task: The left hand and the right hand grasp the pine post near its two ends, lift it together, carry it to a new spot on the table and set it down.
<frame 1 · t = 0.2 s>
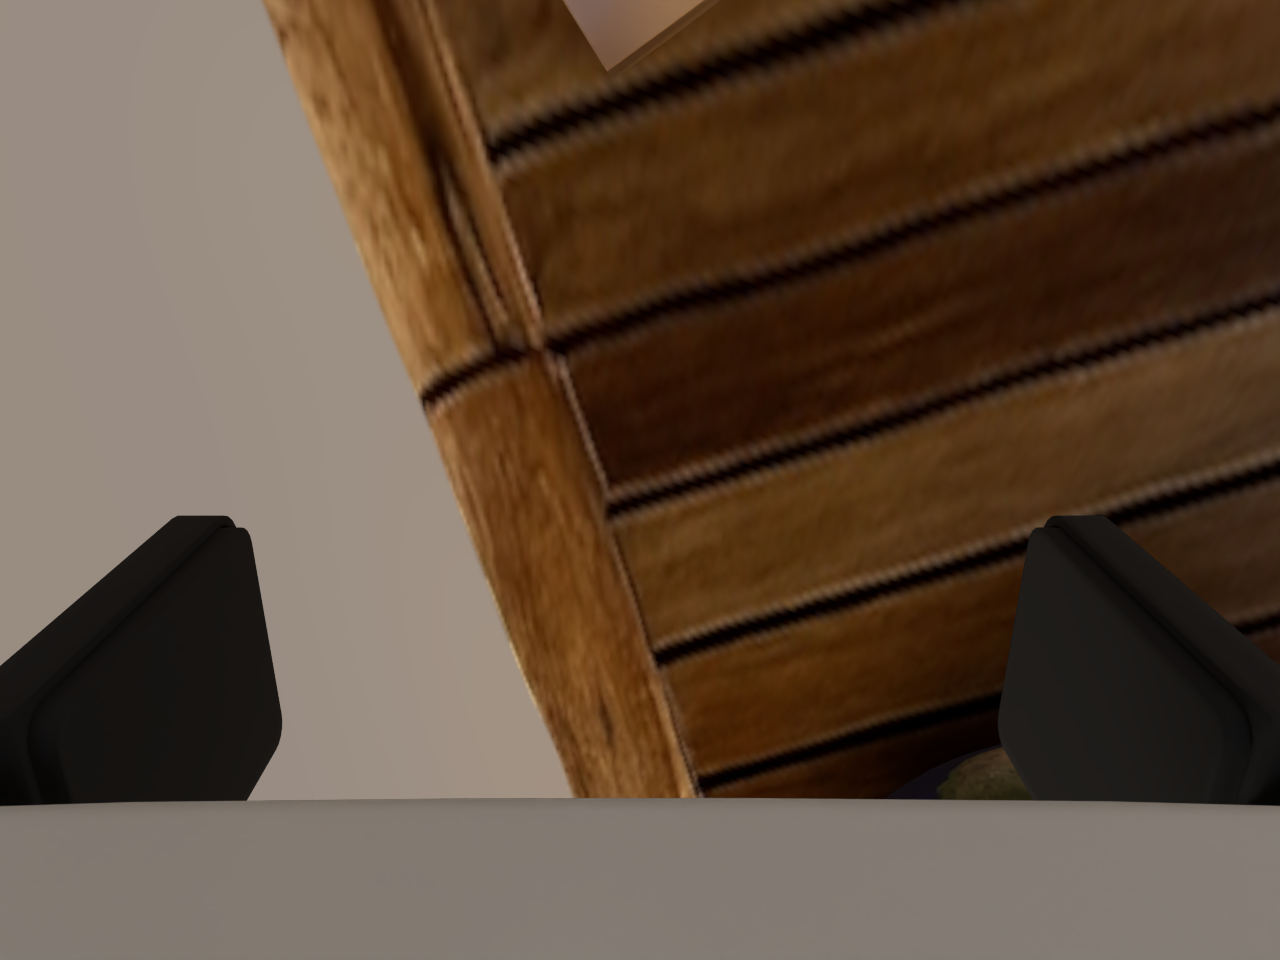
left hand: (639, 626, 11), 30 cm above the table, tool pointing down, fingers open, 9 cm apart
globe: (994, 839, 51), on the table
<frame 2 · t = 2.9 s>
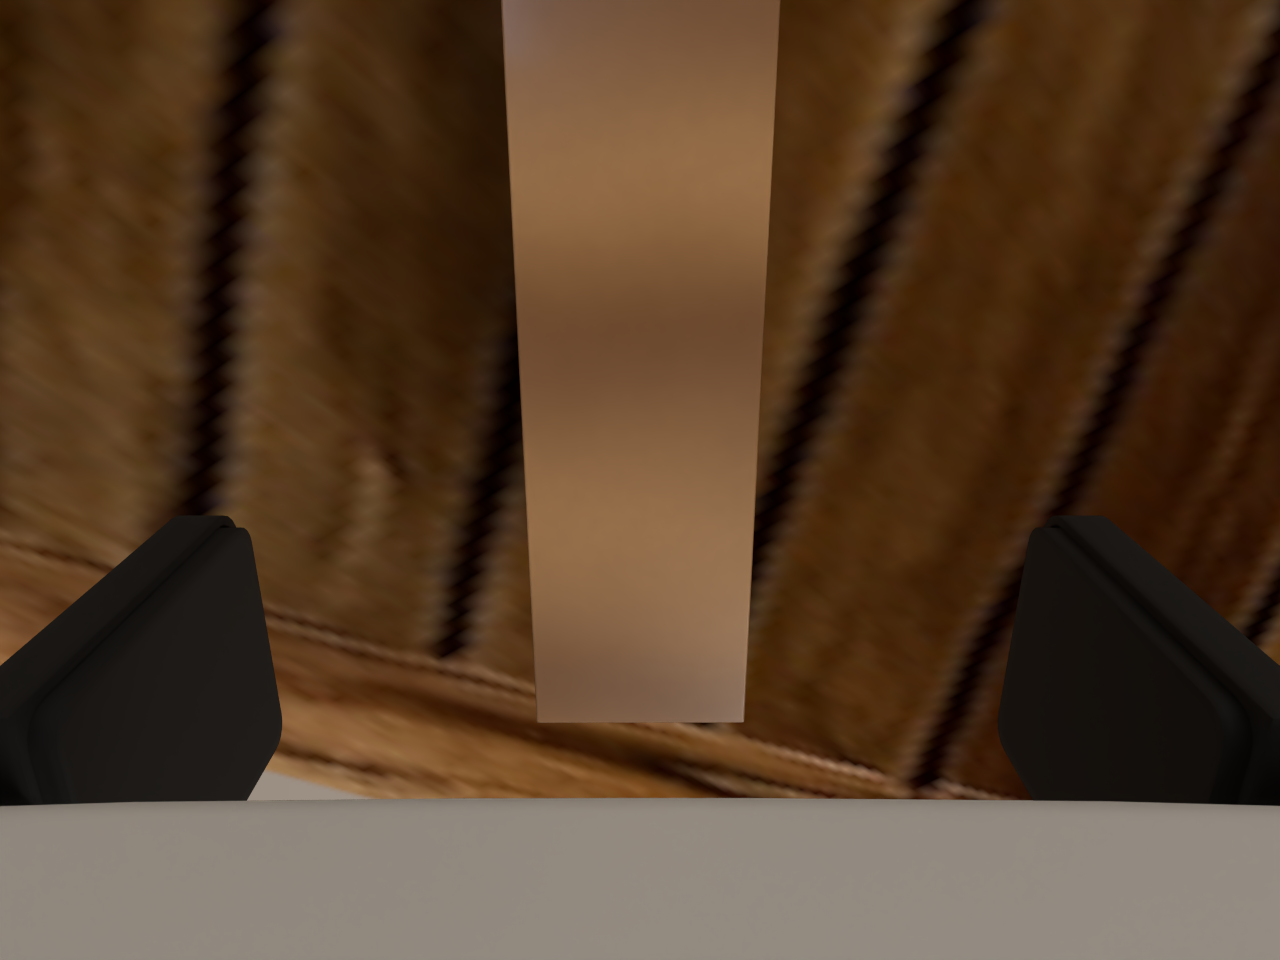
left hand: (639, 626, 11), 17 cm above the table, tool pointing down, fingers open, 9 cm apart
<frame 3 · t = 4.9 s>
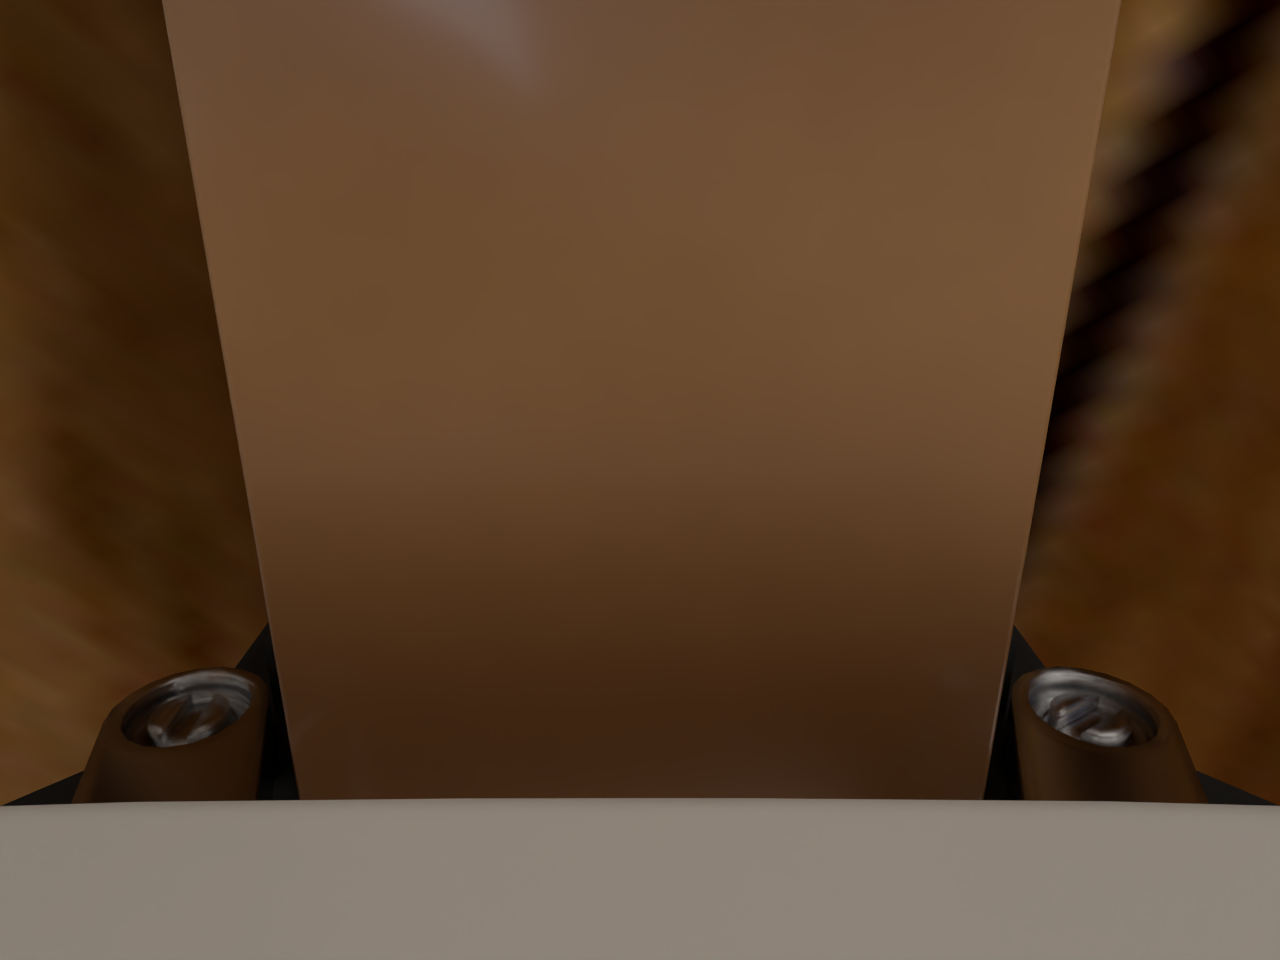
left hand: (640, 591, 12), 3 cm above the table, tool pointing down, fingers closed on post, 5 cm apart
when the left hand's fingers open (4 cm above the table, at t = 9.9 s): post drops 1 cm, on the table.
when the right hand's fingers open (4 cm above the table, at t = 9.9 s): post drops 1 cm, on the table.
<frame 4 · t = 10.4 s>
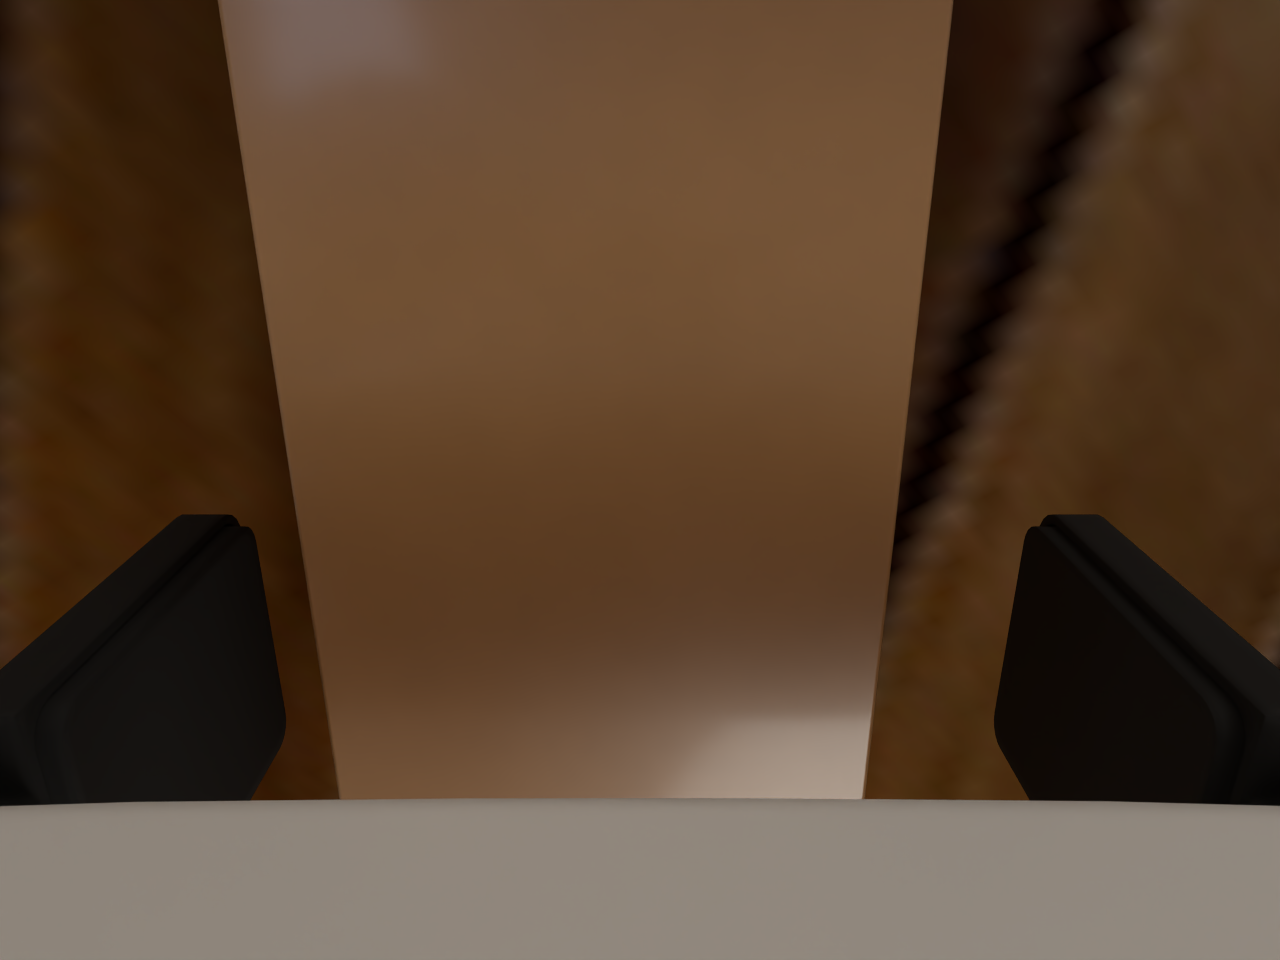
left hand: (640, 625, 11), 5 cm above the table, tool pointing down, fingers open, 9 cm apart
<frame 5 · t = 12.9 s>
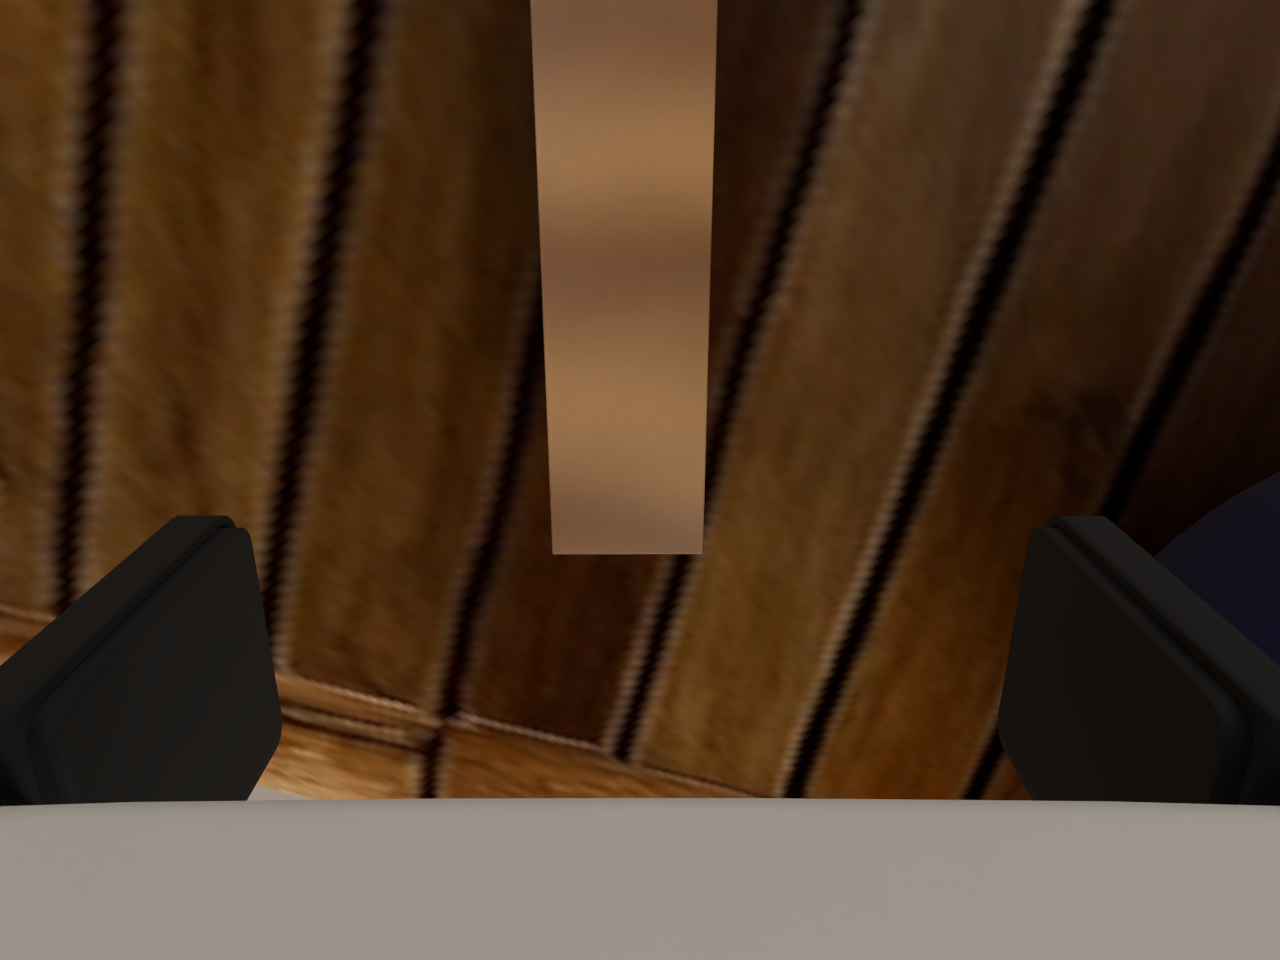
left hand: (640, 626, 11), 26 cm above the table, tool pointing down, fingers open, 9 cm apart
globe: (1263, 637, 41), on the table
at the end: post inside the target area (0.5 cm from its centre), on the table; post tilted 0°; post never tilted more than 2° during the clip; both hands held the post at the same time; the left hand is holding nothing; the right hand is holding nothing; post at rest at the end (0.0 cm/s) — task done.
